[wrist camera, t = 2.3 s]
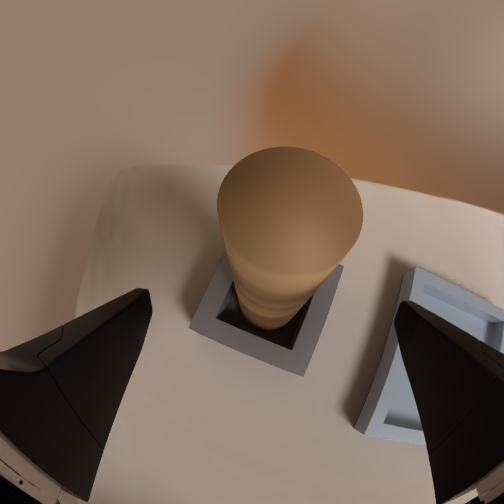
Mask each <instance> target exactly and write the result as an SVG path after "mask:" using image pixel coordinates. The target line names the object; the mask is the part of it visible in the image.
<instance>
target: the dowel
mask: <svg viewBox="0 0 504 504" xmlns="http://www.w3.org/2000/svg"><path fill="white" fill-rule="evenodd" d="M217 211H218V217H219V222H220V226H221V230H222V235H223V239H224V243H225V247H226V251H227V256H228V260H229V264H230V268H231V272H232V276H233V280H234V284H235V288H236V292H237V296H238V300H239V304H240V308H241V312H242V315H243V317H244V319H245V321H246V322H247V323H248V324H249V325H250V326H251V327H253V328H254V329H256V330H259V331H263V332H272V331H276V330H278V329H281V328H282V327H284V326H285V325H286V324H287V323H288V322H289V321H290V320H291V319H292V318H293V316H294V315H295V314H296V313H297V312H298V311H299V310H300V309H301V307H302V306H303V305H304V304H305V303H306V302H307V301H308V300H309V298H310V297H311V296H312V295H313V294H314V293H315V292H316V290H317V289H318V288H319V287H320V286H321V285H322V283H323V282H324V281H325V280H326V279H327V278H328V276H329V275H330V274H331V273H332V272H333V270H334V269H335V268H336V267H337V266H338V264H339V263H340V262H341V261H342V259H343V258H344V257H345V256H346V255H347V253H348V252H349V251H350V249H351V248H352V247H353V245H354V244H355V242H356V240H357V239H358V237H359V234H360V231H361V227H362V222H363V209H362V203H361V199H360V196H359V193H358V191H357V189H356V187H355V185H354V183H353V182H352V180H351V179H350V178H349V176H348V175H347V174H346V173H345V172H344V171H343V170H342V169H341V168H340V167H339V166H338V165H336V164H335V163H334V162H332V161H331V160H329V159H328V158H326V157H324V156H322V155H320V154H317V153H315V152H313V151H309V150H306V149H301V148H296V147H295V148H294V147H274V148H268V149H264V150H261V151H258V152H255V153H253V154H251V155H249V156H247V157H245V158H244V159H242V160H241V161H239V162H238V163H237V164H236V165H235V166H234V167H233V168H232V169H231V170H230V171H229V172H228V174H227V175H226V177H225V178H224V180H223V182H222V184H221V187H220V190H219V193H218V199H217Z"/></svg>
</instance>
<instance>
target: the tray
mask: <svg viewBox="0 0 504 504" xmlns="http://www.w3.org/2000/svg"><path fill="white" fill-rule="evenodd" d="M404 300H411V301H413V302H415V303H417V304H419V305H420V306H422V307H424V308H426V309H427V310H429V311H431V312H433V313H435V314H436V315H438V316H440V317H441V318H443V319H445V320H447V321H448V322H450V323H452V324H454V325H455V326H457V327H459V328H460V329H462V330H464V331H466V332H467V333H469V334H471V335H472V336H474V337H476V338H477V339H479V340H481V341H482V342H484V343H486V344H487V345H489V346H491V347H492V348H494V349H496V350H498V351H499V352H501V353H503V354H504V310H503V309H502V308H500V307H498V306H496V305H494V304H492V303H490V302H488V301H486V300H484V299H483V298H481V297H479V296H477V295H475V294H473V293H471V292H469V291H467V290H465V289H463V288H461V287H459V286H457V285H455V284H453V283H451V282H449V281H446V280H444V279H442V278H440V277H438V276H436V275H434V274H432V273H430V272H428V271H425V270H423V269H421V268H419V267H417V266H415V267H414V268H413V269H411V270H410V271H408V272H407V273H405V274H404V275H403V279H402V284H401V289H400V293H399V297H398V302H397V306H396V310H395V313H394V317H393V321H392V325H391V328H390V332H389V335H388V338H387V342H386V345H385V348H384V351H383V354H382V358H381V361H380V363H379V366H378V369H377V372H376V375H375V378H374V380H373V383H372V386H371V388H370V391H369V394H368V396H367V399H366V401H365V404H364V406H363V408H362V411H361V413H360V415H359V418H358V420H357V422H356V425H355V427H354V429H356V430H357V431H359V432H361V433H362V434H364V435H368V436H373V437H378V438H383V439H388V440H394V441H399V442H405V443H412V444H419V445H426V442H425V437H424V433H423V429H422V425H421V421H420V417H419V413H418V410H417V406H416V402H415V399H414V395H413V392H412V389H411V385H410V382H409V379H408V376H407V372H406V369H405V366H404V363H403V360H402V356H401V352H400V348H399V343H398V339H397V335H396V331H395V327H394V319H395V316H396V313H397V310H398V307H399V304H400V302H401V301H404Z"/></svg>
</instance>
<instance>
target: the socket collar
mask: <svg viewBox="0 0 504 504" xmlns="http://www.w3.org/2000/svg"><path fill="white" fill-rule="evenodd" d="M343 267H344V266H342V265H339V264H338V266H337V267H336V268H335V269H334V270H333V272H332V273H331V274H330V275H329V276H328V278H327V279H326V280H325V281H324V282H323V283H322V285H321V286H320V287H319V288H318V289H317V290H316V292H315V293H314V294H313V295H312V296H311V297H310V298H309V300H308V301H307V303H306V306H305V308H304V311H303V313H302V316H301V319H300V321H299V324H298V326H297V329H296V331H295V334H294V336H293V338H292V341H291V343H290V346H289V348H288V349H287V348H285V347H282V346H280V345H277V344H275V343H272V342H270V341H267V340H265V339H262V338H260V337H258V336H255V335H253V334H250V333H248V332H246V331H243V330H241V329H239V328H236V327H234V326H232V325H229V324H227V323H225V322H223V321H222V319H223V316H224V314H225V312H226V310H227V308H228V306H229V303H230V301H231V299H232V297H233V295H234V293H235V290H236V288H235V284H234V280H233V276H232V272H231V268H230V264H229V260H228V256H227V251H225V253H224V255H223V257H222V259H221V261H220V263H219V265H218V268H217V270H216V272H215V274H214V276H213V278H212V280H211V282H210V284H209V286H208V288H207V290H206V292H205V294H204V296H203V298H202V300H201V302H200V304H199V307H198V309H197V311H196V313H195V315H194V317H193V319H192V321H191V323H190V325H189V328H190V329H192V330H194V331H196V332H198V333H200V334H202V335H204V336H206V337H208V338H210V339H213V340H215V341H217V342H219V343H221V344H224V345H226V346H228V347H230V348H233V349H235V350H237V351H239V352H242V353H244V354H247V355H249V356H251V357H254V358H256V359H259V360H261V361H263V362H266V363H268V364H271V365H274V366H276V367H279V368H281V369H284V370H287V371H289V372H292V373H295V374H297V375H300V376H304V374H305V372H306V369H307V367H308V364H309V362H310V359H311V357H312V354H313V352H314V349H315V347H316V344H317V342H318V339H319V336H320V334H321V331H322V329H323V326H324V323H325V320H326V318H327V315H328V312H329V309H330V306H331V303H332V301H333V298H334V295H335V292H336V289H337V286H338V283H339V280H340V276H341V273H342V270H343Z"/></svg>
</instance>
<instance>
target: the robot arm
mask: <svg viewBox="0 0 504 504" xmlns="http://www.w3.org/2000/svg"><path fill="white" fill-rule="evenodd" d="M151 316H152V304H151V299H150V293H149V290H147V289H142V288H136V289H134V290H132V291H130V292H128V293H126V294H124V295H122V296H120V297H118V298H116V299H114V300H112V301H110V302H108V303H106V304H104V305H102V306H100V307H98V308H96V309H94V310H92V311H90V312H88V313H86V314H84V315H82V316H80V317H78V318H76V319H74V320H72V321H70V322H68V323H66V324H64V325H62V326H60V327H58V328H56V329H54V330H52V331H50V332H48V333H46V334H44V335H41V336H39V337H37V338H34V339H32V340H30V341H27V342H25V343H23V344H21V345H18V346H15V347H13V348H11V349H8V350H6V351H3V352H0V504H60V503H59V500H58V497H59V494H60V492H61V490H63V491H65V492H67V493H69V494H71V495H73V496H75V497H77V498H79V499H81V500H83V501H86V502H88V500H89V497H90V494H91V490H92V487H93V483H94V480H95V477H96V473H97V470H98V467H99V464H100V461H101V457H102V454H103V451H104V448H105V445H106V442H107V439H108V436H109V433H110V430H111V427H112V425H113V422H114V419H115V416H116V414H117V411H118V408H119V405H120V403H121V400H122V397H123V395H124V392H125V390H126V387H127V385H128V382H129V379H130V377H131V374H132V372H133V369H134V367H135V365H136V362H137V360H138V357H139V355H140V352H141V350H142V347H143V344H144V340H145V337H146V333H147V330H148V326H149V323H150V320H151ZM394 327H395V331H396V335H397V339H398V343H399V348H400V352H401V356H402V360H403V363H404V366H405V369H406V372H407V376H408V379H409V382H410V385H411V389H412V392H413V395H414V399H415V402H416V406H417V410H418V413H419V417H420V421H421V425H422V429H423V433H424V437H425V442H426V446H427V451H428V455H429V461H430V467H431V472H432V478H433V484H434V491H435V498H436V504H445V503H447V502H449V501H451V500H454V499H456V498H458V497H460V496H462V495H464V494H466V493H468V492H470V491H472V490H473V489H475V488H476V490H477V493H478V496H477V497H475V498H474V499H472V500H470V501H469V502H467V503H465V504H504V354H503V353H501V352H499V351H498V350H496V349H494V348H492V347H491V346H489V345H487V344H486V343H484V342H482V341H481V340H479V339H477V338H476V337H474V336H472V335H471V334H469V333H467V332H466V331H464V330H462V329H460V328H459V327H457V326H455V325H454V324H452V323H450V322H448V321H447V320H445V319H443V318H441V317H440V316H438V315H436V314H435V313H433V312H431V311H429V310H427V309H426V308H424V307H422V306H420V305H419V304H417V303H415V302H413V301H411V300H404V301H401V302H400V304H399V307H398V310H397V313H396V316H395V319H394Z"/></svg>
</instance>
